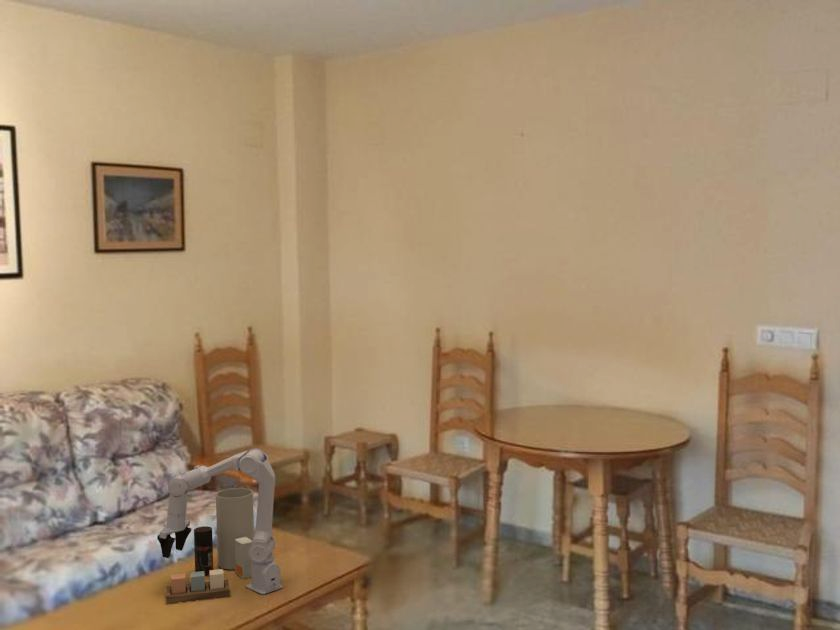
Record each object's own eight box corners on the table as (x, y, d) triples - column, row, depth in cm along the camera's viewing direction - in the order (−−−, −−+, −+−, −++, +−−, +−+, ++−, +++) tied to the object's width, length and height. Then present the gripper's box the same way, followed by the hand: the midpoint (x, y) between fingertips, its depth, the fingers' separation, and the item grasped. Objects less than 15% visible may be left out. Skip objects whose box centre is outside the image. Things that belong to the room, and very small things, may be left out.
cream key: (224, 587, 259) (223, 573, 258) (210, 589, 258) (209, 575, 257) (223, 583, 263) (222, 568, 262) (209, 584, 262) (209, 570, 261)
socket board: (229, 596, 257) (229, 589, 257) (166, 604, 252) (166, 597, 252) (228, 586, 266) (228, 579, 266) (166, 593, 260) (166, 586, 260)
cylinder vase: (262, 561, 287) (260, 491, 286) (236, 573, 277) (234, 500, 275) (236, 555, 294) (234, 486, 292) (209, 566, 283) (208, 494, 282)
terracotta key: (185, 592, 256) (185, 577, 255) (171, 594, 254) (171, 579, 254) (185, 587, 260) (185, 573, 259) (171, 589, 258) (171, 574, 258)
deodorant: (208, 576, 274) (207, 532, 273) (191, 575, 275) (190, 531, 274) (216, 570, 280) (215, 526, 279) (200, 569, 281) (198, 525, 280)
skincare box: (235, 574, 276) (234, 539, 275) (246, 571, 279) (245, 536, 278) (242, 579, 271) (242, 543, 270) (254, 576, 274) (254, 541, 273)
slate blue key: (205, 590, 257) (204, 575, 257) (191, 591, 256) (190, 577, 256) (204, 585, 261) (204, 570, 261) (190, 586, 260) (190, 572, 260)
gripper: (178, 504, 273) (174, 544, 274) (152, 516, 259) (148, 557, 260) (197, 508, 271) (192, 548, 272) (172, 520, 257) (168, 562, 258)
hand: (172, 553), depth 266 cm, fingers open, 7 cm apart
